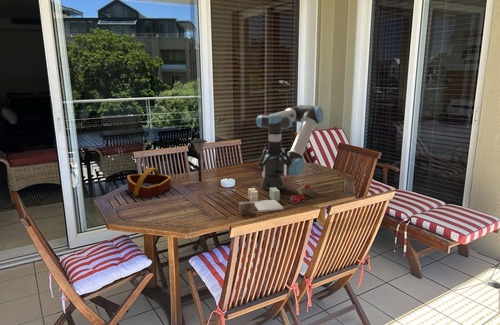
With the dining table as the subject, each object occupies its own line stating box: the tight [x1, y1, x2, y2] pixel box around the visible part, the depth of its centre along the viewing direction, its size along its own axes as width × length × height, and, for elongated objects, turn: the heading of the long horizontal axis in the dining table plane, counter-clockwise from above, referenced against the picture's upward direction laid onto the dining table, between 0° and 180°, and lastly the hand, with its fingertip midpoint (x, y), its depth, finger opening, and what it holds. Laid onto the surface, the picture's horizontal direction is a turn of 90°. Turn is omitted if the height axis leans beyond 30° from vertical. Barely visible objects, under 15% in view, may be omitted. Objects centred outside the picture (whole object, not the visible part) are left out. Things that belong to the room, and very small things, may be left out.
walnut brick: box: [238, 200, 256, 216], centre depth 200 cm, size 8×4×6 cm, turn 104°
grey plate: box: [254, 199, 284, 213], centre depth 210 cm, size 15×14×1 cm
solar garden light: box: [189, 138, 208, 182], centre depth 261 cm, size 12×12×30 cm
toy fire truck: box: [289, 183, 311, 205], centre depth 217 cm, size 3×14×10 cm, turn 126°
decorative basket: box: [126, 167, 171, 198], centre depth 242 cm, size 34×29×15 cm
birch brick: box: [247, 187, 259, 202], centre depth 222 cm, size 8×4×6 cm, turn 14°
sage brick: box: [268, 187, 281, 202], centre depth 223 cm, size 8×4×6 cm, turn 14°
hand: (274, 176), depth 220 cm, fingers open, 13 cm apart
